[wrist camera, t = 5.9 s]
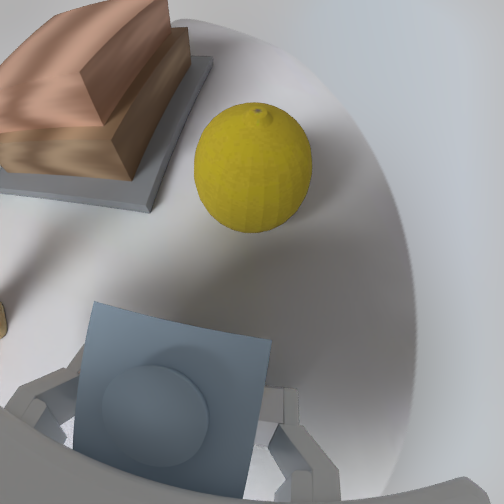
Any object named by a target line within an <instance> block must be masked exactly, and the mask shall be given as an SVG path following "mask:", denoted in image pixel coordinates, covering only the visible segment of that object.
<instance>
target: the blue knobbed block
mask: <svg viewBox="0 0 504 504" xmlns="http://www.w3.org/2000/svg"><path fill="white" fill-rule="evenodd" d="M271 344H272V340H269V339H262V338H256V337H250V336H244V335H238V334H233V333H227V332H222V331H216V330H211V329H206V328H201V327H196V326H192V325H187V324H182V323H178V322H173V321H169V320H164V319H160V318H156V317H152V316H148V315H144V314H140V313H136V312H132V311H128V310H124V309H121V308H117V307H113V306H110V305H106V304H102V303H99V302H96V301H94V304H93V308H92V312H91V317H90V321H89V326H88V331H87V335H86V341H85V346H84V351H83V357H82V363H81V369H80V376H79V383H78V391H77V399H76V409H75V420H74V434H73V450H75V451H77V452H79V453H81V454H83V455H86V456H88V457H90V458H92V459H95V460H97V461H99V462H102V463H104V464H107V465H109V466H112V467H114V468H117V469H120V470H122V471H125V472H128V473H131V474H134V475H137V476H140V477H143V478H146V479H149V480H152V481H156V482H159V483H163V484H167V485H170V486H174V487H178V488H183V489H187V490H192V491H196V492H201V493H206V494H212V495H218V496H224V497H231V498H239V499H243V494H244V490H245V485H246V480H247V475H248V471H249V466H250V461H251V456H252V451H253V446H254V441H255V435H256V430H257V425H258V420H259V414H260V409H261V403H262V398H263V392H264V386H265V381H266V375H267V369H268V363H269V357H270V351H271Z"/></svg>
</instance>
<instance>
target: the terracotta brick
mask: <svg viewBox="0 0 504 504" xmlns="http://www.w3.org/2000/svg"><path fill="white" fill-rule="evenodd" d="M190 66H191V55H190V45H189V35H188V27H178V28H171V24H170V17H169V9H168V1H167V0H107V1H103V2H99V3H95V4H91V5H87V6H83V7H80V8H76V9H73V10H70V11H67V12H64V13H60V14H57V15H55V16H53V17H52V18H51V19H50V20H48V21H47V22H46V23H45V24H43V25H42V26H41V27H40V28H39V29H38V30H36V31H35V32H34V33H33V34H32V35H31V36H30V37H29V38H27V39H26V40H25V41H24V42H23V43H22V44H21V45H20V46H19V47H18V48H17V49H16V50H15V51H14V52H13V53H12V54H11V55H10V56H9V57H8V58H7V59H6V60H5V61H4V62H3V63H2V64H1V65H0V165H1V166H2V167H3V168H4V169H5V170H6V172H7V173H30V174H49V175H64V176H78V177H90V178H101V179H112V180H122V181H131V182H132V180H133V178H134V176H135V173H136V171H137V168H138V166H139V164H140V162H141V159H142V157H143V155H144V153H145V150H146V148H147V146H148V144H149V142H150V140H151V138H152V136H153V133H154V131H155V129H156V127H157V125H158V123H159V121H160V119H161V117H162V115H163V114H164V112H165V110H166V108H167V106H168V104H169V102H170V100H171V98H172V97H173V95H174V93H175V91H176V89H177V88H178V86H179V84H180V82H181V81H182V79H183V77H184V76H185V74H186V72H187V71H188V69H189V67H190Z"/></svg>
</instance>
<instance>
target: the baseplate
mask: <svg viewBox="0 0 504 504" xmlns="http://www.w3.org/2000/svg"><path fill="white" fill-rule="evenodd" d="M212 65H213V59H212V57H211V56H191V66H190V67H189V69H188V71H187V72H186V74H185V76H184V77H183V79H182V81H181V82H180V84H179V86H178V88H177V89H176V91H175V93H174V95H173V97H172V98H171V100H170V102H169V104H168V106H167V108H166V110H165V112H164V114H163V115H162V117H161V119H160V121H159V123H158V125H157V127H156V129H155V131H154V133H153V136H152V138H151V140H150V142H149V144H148V146H147V148H146V150H145V153H144V155H143V157H142V159H141V162H140V164H139V166H138V168H137V171H136V173H135V176H134V178H133V180H132V182H131V181H122V180H112V179H101V178H90V177H78V176H64V175H49V174H30V173H7V172H6V170H5V169H4V168H3V167H1V169H0V193H2V194H10V195H19V196H27V197H35V198H43V199H51V200H59V201H67V202H74V203H82V204H89V205H96V206H103V207H110V208H117V209H124V210H131V211H138V212H145V213H150V212H151V209H152V206H153V203H154V200H155V197H156V194H157V192H158V189H159V186H160V183H161V181H162V178H163V175H164V173H165V170H166V167H167V165H168V162H169V160H170V157H171V155H172V152H173V150H174V147H175V145H176V143H177V140H178V138H179V135H180V133H181V131H182V128H183V126H184V124H185V122H186V119H187V117H188V115H189V113H190V110H191V108H192V106H193V104H194V102H195V100H196V98H197V95H198V93H199V91H200V89H201V87H202V85H203V83H204V81H205V79H206V77H207V75H208V73H209V71H210V69H211V67H212Z"/></svg>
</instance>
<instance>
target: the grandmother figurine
mask: <svg viewBox="0 0 504 504" xmlns="http://www.w3.org/2000/svg"><path fill="white" fill-rule="evenodd" d="M6 331H7V324H6V319H5V313H4V308H3V305H2V303H1V302H0V339H1V338H3V337H4V336H5V334H6Z"/></svg>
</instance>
